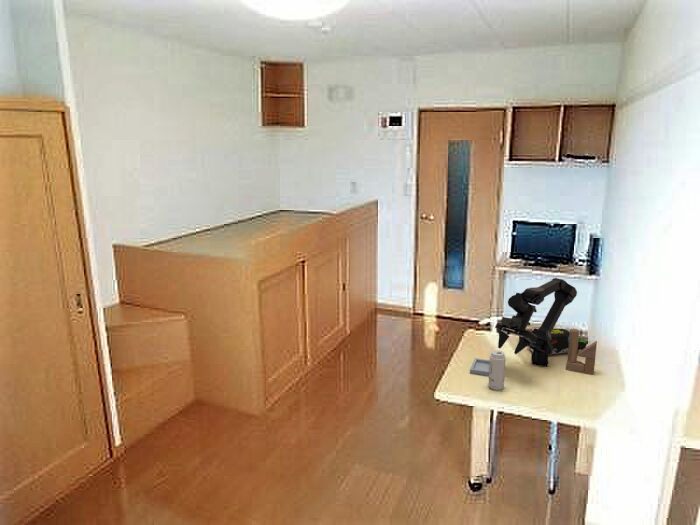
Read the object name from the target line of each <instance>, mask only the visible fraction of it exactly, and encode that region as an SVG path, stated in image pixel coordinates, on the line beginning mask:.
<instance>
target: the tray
mask: <svg viewBox="0 0 700 525" xmlns="http://www.w3.org/2000/svg"><path fill="white" fill-rule="evenodd" d="M489 362H490V359H483V358H477V357H475V358H474V360H473V362H472V364H471V366H470V369H469V374H470V375H477V376H484V377H489Z"/></svg>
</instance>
